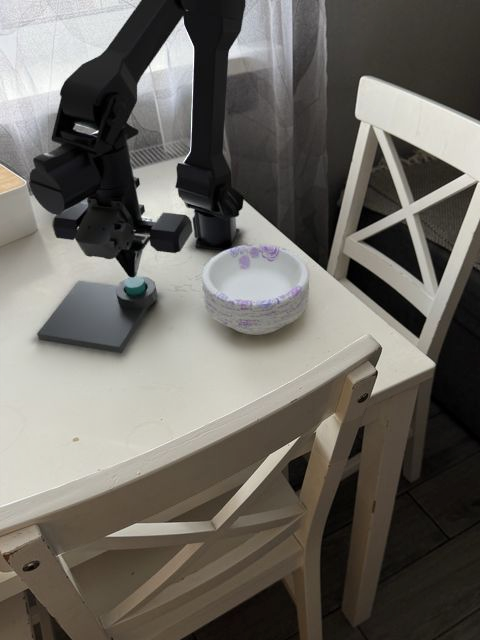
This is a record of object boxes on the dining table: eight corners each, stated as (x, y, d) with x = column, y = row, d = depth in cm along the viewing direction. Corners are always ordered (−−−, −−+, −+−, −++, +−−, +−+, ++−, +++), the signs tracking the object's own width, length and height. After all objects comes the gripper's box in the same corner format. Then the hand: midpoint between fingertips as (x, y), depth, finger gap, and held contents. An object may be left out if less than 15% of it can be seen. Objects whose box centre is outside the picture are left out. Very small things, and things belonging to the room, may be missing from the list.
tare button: (149, 285, 91) (147, 277, 90) (141, 297, 89) (139, 289, 88) (131, 282, 91) (129, 274, 90) (122, 294, 89) (120, 286, 88)
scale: (163, 294, 93) (161, 279, 91) (127, 354, 84) (123, 338, 82) (83, 282, 96) (78, 267, 94) (39, 339, 86) (33, 324, 84)
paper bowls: (281, 273, 96) (281, 231, 91) (326, 330, 86) (328, 286, 81) (192, 299, 92) (186, 256, 87) (228, 361, 82) (224, 317, 77)
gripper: (15, 202, 74) (49, 300, 85) (154, 218, 70) (172, 319, 81) (59, 161, 82) (85, 256, 92) (187, 174, 78) (199, 271, 89)
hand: (133, 275), depth 88 cm, fingers closed
